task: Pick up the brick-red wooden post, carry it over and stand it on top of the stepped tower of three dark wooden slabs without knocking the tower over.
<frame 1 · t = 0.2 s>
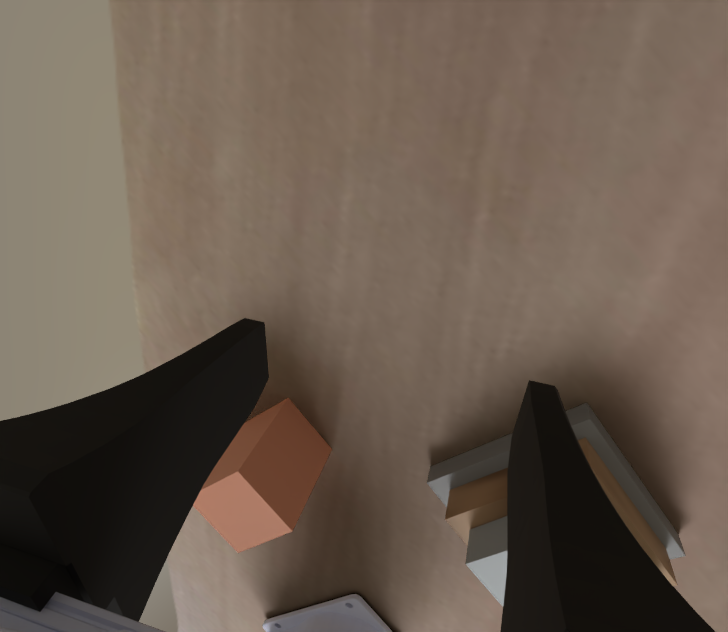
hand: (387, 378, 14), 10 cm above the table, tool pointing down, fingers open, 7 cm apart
tower middle slab: (553, 518, 26), point 1 cm above the table, touching tower base slab
tower base slab: (548, 489, 28), on the table, touching tower middle slab
tower top slab: (560, 554, 24), point 3 cm above the table
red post: (286, 436, 30), on the table
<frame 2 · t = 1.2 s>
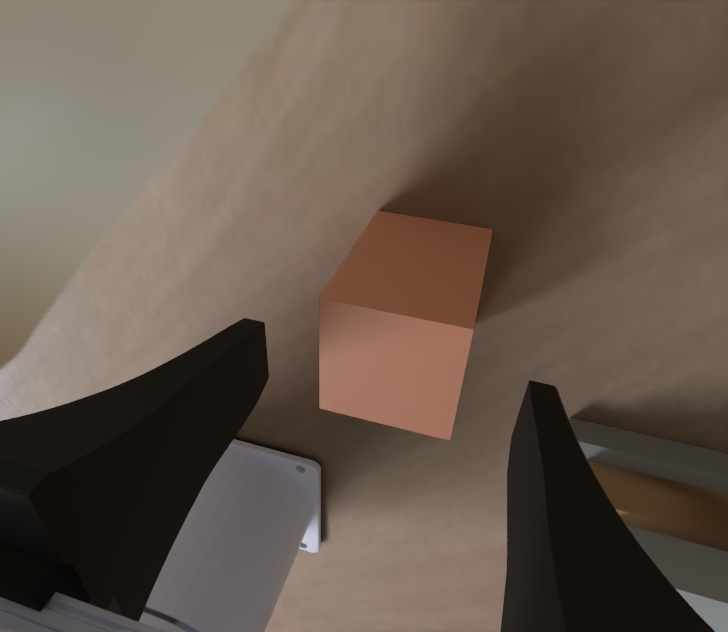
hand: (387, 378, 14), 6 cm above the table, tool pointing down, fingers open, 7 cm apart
tower middle slab: (652, 541, 21), point 1 cm above the table, touching tower base slab, tower top slab
tower base slab: (645, 499, 23), on the table, touching tower middle slab
tower top slab: (663, 587, 20), point 3 cm above the table, touching tower middle slab
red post: (427, 269, 19), on the table
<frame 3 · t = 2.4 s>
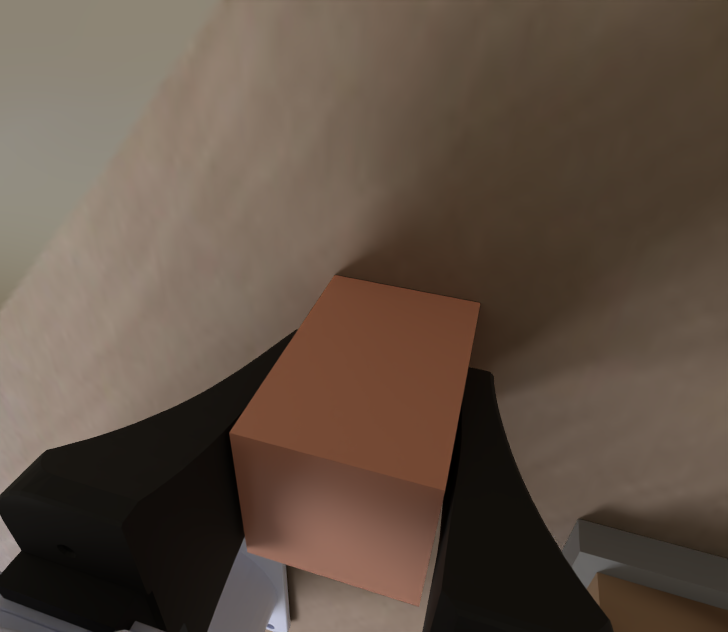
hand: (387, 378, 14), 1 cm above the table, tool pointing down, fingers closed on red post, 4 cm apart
tower base slab: (667, 604, 19), on the table
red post: (398, 346, 15), on the table, touching gripper
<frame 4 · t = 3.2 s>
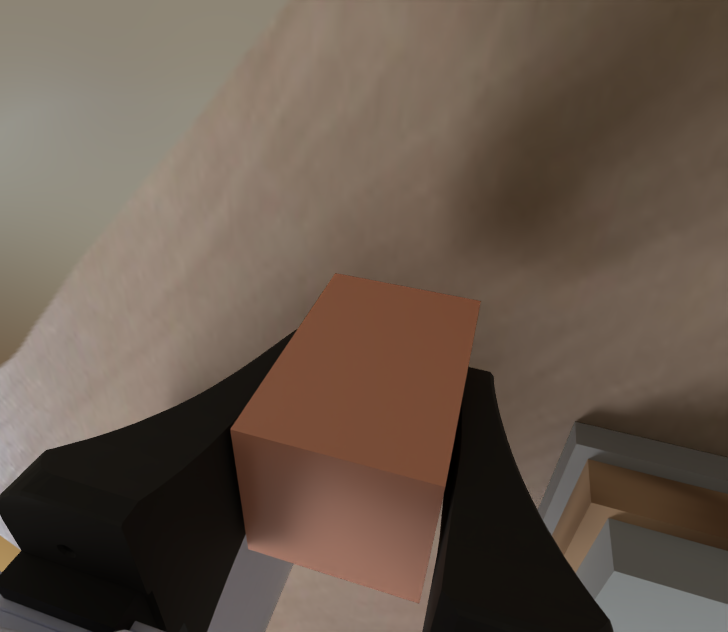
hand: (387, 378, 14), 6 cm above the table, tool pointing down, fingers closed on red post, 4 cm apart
tower middle slab: (655, 542, 21), point 1 cm above the table, touching tower base slab, tower top slab
tower base slab: (651, 504, 23), on the table, touching tower middle slab
tower top slab: (664, 587, 19), point 3 cm above the table, touching tower middle slab
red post: (399, 344, 15), point 4 cm above the table, touching gripper
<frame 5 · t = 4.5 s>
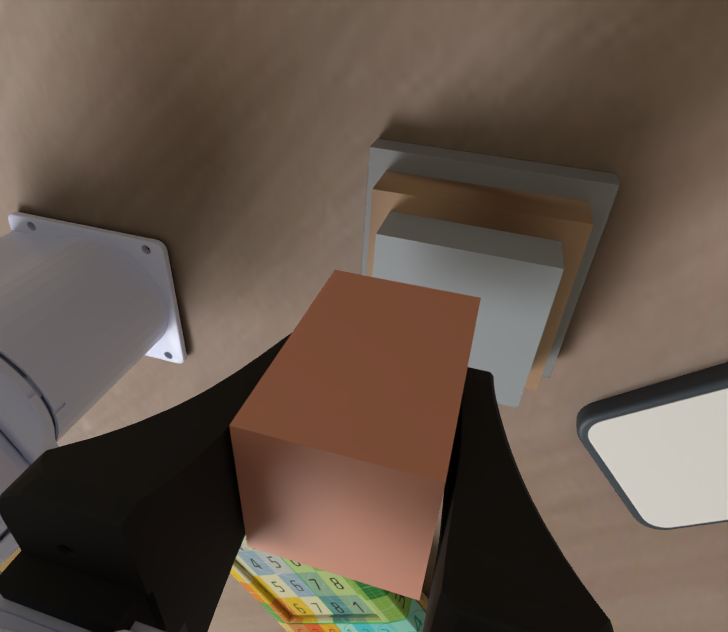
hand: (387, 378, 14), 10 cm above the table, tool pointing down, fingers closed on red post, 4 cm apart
puzzle game: (353, 564, 40), on the table
tower middle slab: (466, 272, 21), point 1 cm above the table, touching tower base slab, tower top slab
tower base slab: (472, 250, 23), on the table, touching tower middle slab
tower top slab: (458, 297, 20), point 3 cm above the table, touching tower middle slab
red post: (399, 342, 15), point 8 cm above the table, touching gripper
when the fingers open (8 cm above the table, at t = 6.1 s): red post drops 2 cm, resting on tower top slab.
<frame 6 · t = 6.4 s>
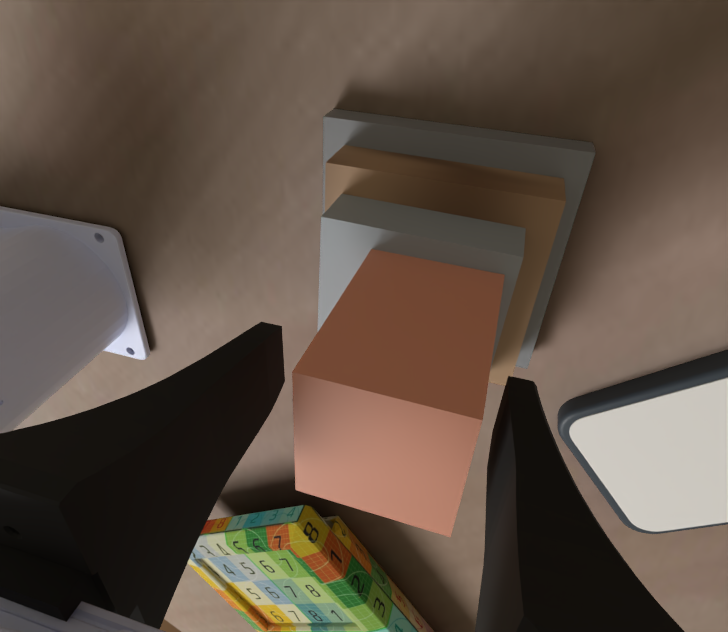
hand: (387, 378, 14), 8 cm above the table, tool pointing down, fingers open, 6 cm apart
puzzle game: (334, 569, 38), on the table
tower middle slab: (434, 257, 20), point 1 cm above the table, touching tower base slab, tower top slab
tower base slab: (442, 231, 21), on the table, touching tower middle slab
tower top slab: (417, 288, 18), point 3 cm above the table, touching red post, tower middle slab
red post: (427, 316, 16), point 5 cm above the table, touching tower top slab
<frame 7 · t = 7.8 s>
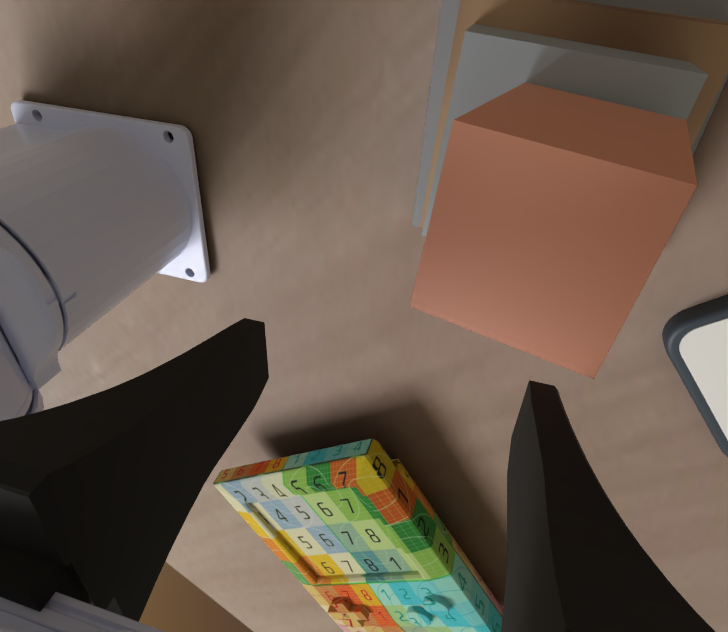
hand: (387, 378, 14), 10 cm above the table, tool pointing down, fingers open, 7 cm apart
puzzle game: (385, 522, 36), on the table
tower middle slab: (554, 129, 18), point 1 cm above the table, touching tower base slab, tower top slab
tower base slab: (553, 116, 19), on the table, touching tower middle slab
tower top slab: (543, 147, 16), point 3 cm above the table, touching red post, tower middle slab
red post: (572, 176, 14), point 6 cm above the table, tilted 11°, touching tower top slab
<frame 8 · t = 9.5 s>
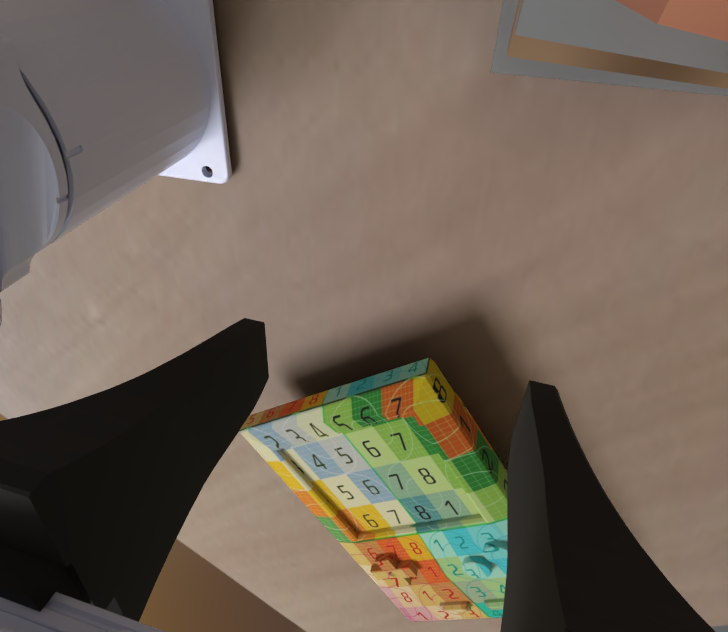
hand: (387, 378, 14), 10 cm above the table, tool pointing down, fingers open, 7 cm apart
puzzle game: (428, 469, 32), on the table
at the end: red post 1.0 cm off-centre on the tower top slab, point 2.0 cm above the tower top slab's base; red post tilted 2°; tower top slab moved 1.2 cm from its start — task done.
